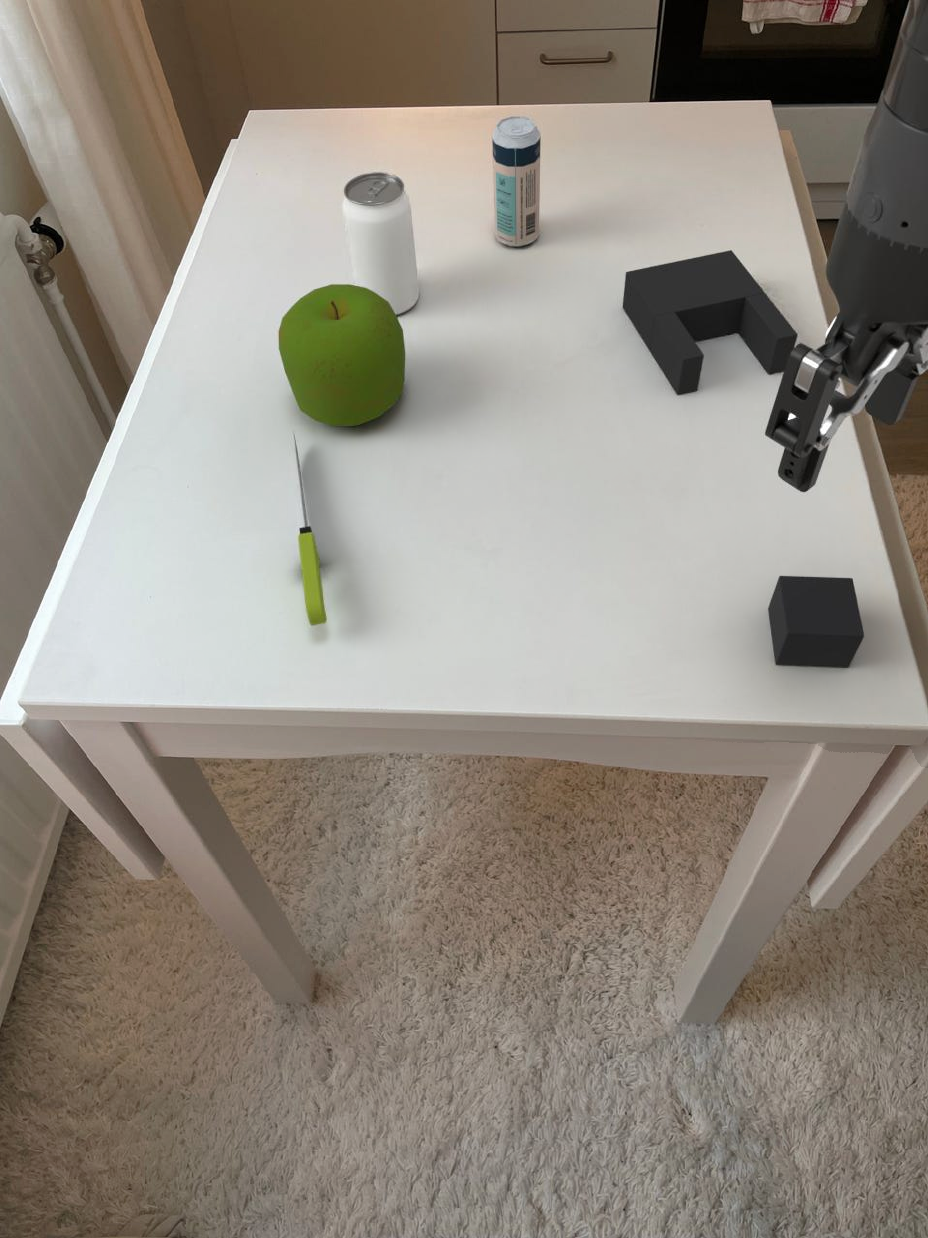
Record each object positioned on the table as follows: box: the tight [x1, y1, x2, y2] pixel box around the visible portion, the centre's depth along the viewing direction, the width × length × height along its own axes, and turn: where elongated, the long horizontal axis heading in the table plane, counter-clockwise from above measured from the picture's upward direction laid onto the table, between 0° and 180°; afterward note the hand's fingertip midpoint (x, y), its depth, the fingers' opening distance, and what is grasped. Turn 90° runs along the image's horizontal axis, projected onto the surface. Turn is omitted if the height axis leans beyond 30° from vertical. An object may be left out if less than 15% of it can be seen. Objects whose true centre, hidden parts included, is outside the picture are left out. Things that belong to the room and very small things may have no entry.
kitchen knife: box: [292, 429, 328, 626], centre depth 78 cm, size 22×1×3 cm, turn 11°
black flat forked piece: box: [622, 249, 798, 396], centre depth 90 cm, size 14×11×4 cm
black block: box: [767, 575, 865, 669], centre depth 69 cm, size 5×5×4 cm
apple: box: [278, 283, 406, 427], centre depth 85 cm, size 11×11×11 cm
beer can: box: [491, 115, 541, 248], centre depth 99 cm, size 5×5×12 cm
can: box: [341, 171, 420, 316], centre depth 93 cm, size 6×6×12 cm
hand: (839, 448), depth 59 cm, fingers open, 8 cm apart
